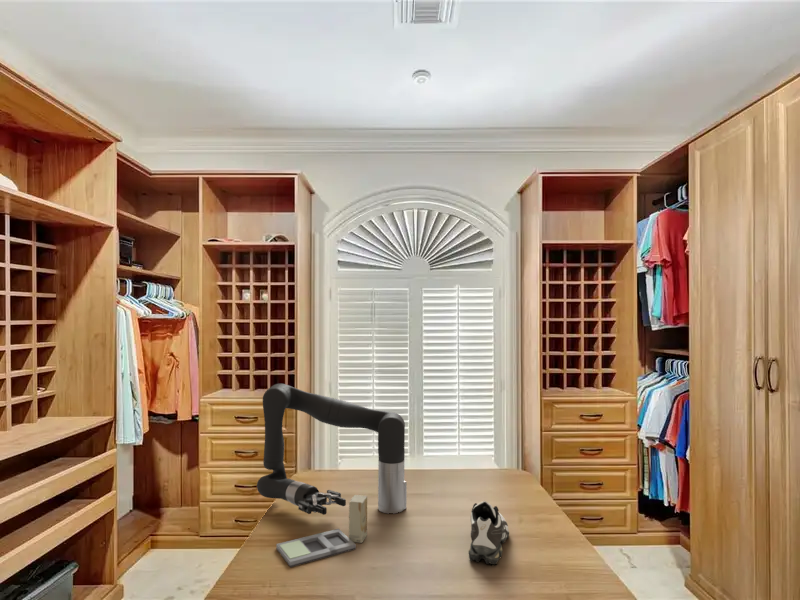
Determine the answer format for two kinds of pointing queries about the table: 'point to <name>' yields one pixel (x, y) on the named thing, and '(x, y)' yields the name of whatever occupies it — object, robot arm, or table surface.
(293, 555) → the board
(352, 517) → the skincare box
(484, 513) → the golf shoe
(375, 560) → the table surface
